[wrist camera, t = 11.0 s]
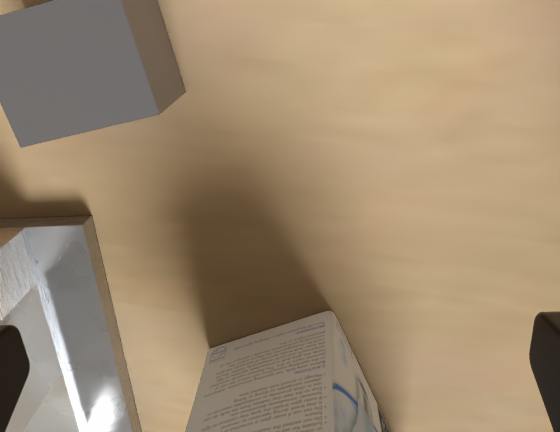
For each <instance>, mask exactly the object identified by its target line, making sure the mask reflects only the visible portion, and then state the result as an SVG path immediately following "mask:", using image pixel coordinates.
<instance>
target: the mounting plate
mask: <svg viewBox="0 0 560 432" xmlns="http://www.w3.org/2000/svg"><path fill="white" fill-rule="evenodd" d="M9 324H13V325H14V326H16V327H17V328H18V329H19V331H20V334H21V337H22V340H23V343H24V346H25V347H26V349H27V351H28V353H29V355H30V357H31V359H32V360H33V362H34V364H35V366H36V368H37V370H38V372H39V373H40V375H41V377H42V379H43V381H44V383H45V385H46V387H47V388H48V390H49V392H48V394H47V395H46V397H45V398H44V400H43V401H42V403H41V405H40V406H39V408H38V409H37V411H36V412H35V414H34V415H33V417H32V418H31V420H30V422H29V423H28V425H27V426H26V428H25V429H24V431H23V432H142V431H141V427H140V423H139V418H138V414H137V410H136V405H135V401H134V397H133V392H132V388H131V384H130V379H129V375H128V370H127V366H126V362H125V357H124V353H123V349H122V344H121V340H120V336H119V331H118V327H117V323H116V318H115V314H114V310H113V305H112V301H111V297H110V292H109V288H108V283H107V279H106V275H105V270H104V266H103V262H102V257H101V253H100V249H99V244H98V240H97V236H96V231H95V227H94V223H93V218H92V216H67V217H41V218H15V219H0V325H9Z"/></svg>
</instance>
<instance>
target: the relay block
mask: <svg viewBox="0 0 560 432" xmlns="http://www.w3.org/2000/svg"><path fill="white" fill-rule="evenodd" d="M185 92H186V91H185V88H184V84H183V81H182V78H181V75H180V72H179V68H178V65H177V62H176V59H175V55H174V52H173V49H172V46H171V43H170V39H169V36H168V33H167V30H166V27H165V23H164V20H163V17H162V14H161V11H160V7H159V4H158V1H157V0H53V1H50V2H46V3H43V4H39V5H35V6H32V7H28V8H25V9H21V10H18V11H14V12H11V13H7V14H4V15H0V103H1V105H2V107H3V110H4V112H5V114H6V116H7V119H8V121H9V123H10V125H11V127H12V130H13V132H14V134H15V136H16V138H17V141H18V143H19V145H20V147H26V146H30V145H34V144H38V143H42V142H46V141H51V140H55V139H59V138H63V137H67V136H71V135H76V134H80V133H84V132H88V131H92V130H96V129H101V128H105V127H109V126H113V125H117V124H122V123H126V122H130V121H134V120H138V119H142V118H147V117H151V116H155V115H159V114H160V113H162V112H163V111H164V110H165V109H166V108H168V107H169V106H170V105H171V104H172V103H173V102H175V101H176V100H177V99H178V98H179V97H181V96H182V95H183V94H184V93H185Z"/></svg>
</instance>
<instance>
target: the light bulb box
mask: <svg viewBox="0 0 560 432" xmlns="http://www.w3.org/2000/svg"><path fill="white" fill-rule="evenodd" d="M185 432H390V430H389V427H388V425H387V423H386V421H385V419H384V417H383V415H382V413H381V411H380V409H379V407H378V404H377V402H376V400H375V398H374V396H373V394H372V391H371V389H370V387H369V385H368V383H367V381H366V379H365V377H364V375H363V372H362V370H361V368H360V366H359V364H358V362H357V359H356V357H355V355H354V353H353V351H352V349H351V347H350V345H349V343H348V340H347V338H346V336H345V334H344V332H343V330H342V328H341V326H340V324H339V322H338V320H337V318H336V316H335V314H334V313H333V312H332V311H325V312H321V313H318V314H315V315H312V316H309V317H305V318H302V319H299V320H296V321H293V322H290V323H287V324H284V325H281V326H278V327H275V328H271V329H268V330H265V331H262V332H259V333H256V334H253V335H249V336H247V337H244V338H241V339H238V340H234V341H231V342H228V343H225V344H222V345H219V346H216V347H213V348H210V349H209V350H208V354H207V357H206V361H205V365H204V368H203V372H202V375H201V379H200V383H199V386H198V390H197V393H196V396H195V400H194V404H193V407H192V410H191V414H190V417H189V421H188V424H187V427H186V431H185Z"/></svg>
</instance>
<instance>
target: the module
mask: <svg viewBox="0 0 560 432" xmlns="http://www.w3.org/2000/svg"><path fill="white" fill-rule="evenodd" d="M9 325H13V324H9ZM25 349H26V347H25ZM26 352H27V355H28V358H29V362H30V371H29V375H28V378H27V380H26V383H25V385H24V387H23V390H22V392H21V395H20V397H19V400H18V402H17V405H16V407H15V409H14V412H13V414H12V417H11V419H10V422H9V424H8V426H7V429H6V431H5V432H23V431H24V429H25V428H26V426H27V425H28V423H29V422H30V420H31V418H32V417H33V415H34V414H35V412H36V411H37V409H38V408H39V406H40V405H41V403H42V401H43V400H44V398H45V397H46V395H47V394H48V392H49V390H48V388H47V387H46V385H45V383H44V381H43V379H42V377H41V375H40V373H39V372H38V370H37V368H36V366H35V364H34V362H33V360H32V359H31V357H30V355H29V353H28V351H27V349H26Z"/></svg>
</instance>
